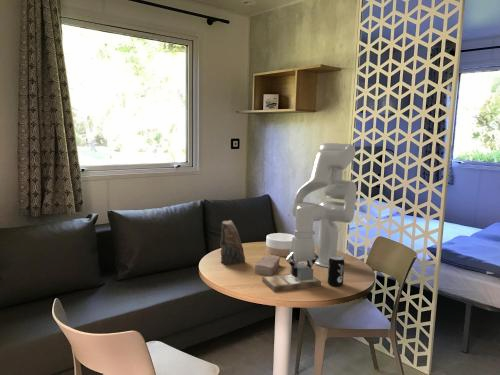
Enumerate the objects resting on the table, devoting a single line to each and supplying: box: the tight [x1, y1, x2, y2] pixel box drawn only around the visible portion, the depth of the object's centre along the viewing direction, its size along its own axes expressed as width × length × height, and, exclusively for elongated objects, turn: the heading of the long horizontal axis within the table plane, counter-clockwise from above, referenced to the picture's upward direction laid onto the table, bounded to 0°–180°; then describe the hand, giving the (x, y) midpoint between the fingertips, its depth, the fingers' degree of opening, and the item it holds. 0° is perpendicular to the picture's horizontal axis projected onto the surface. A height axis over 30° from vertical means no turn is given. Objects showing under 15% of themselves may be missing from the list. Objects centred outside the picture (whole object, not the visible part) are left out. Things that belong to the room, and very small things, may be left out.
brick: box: [254, 254, 281, 276], centre depth 186 cm, size 17×8×5 cm, turn 162°
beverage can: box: [327, 255, 345, 288], centre depth 168 cm, size 7×7×12 cm
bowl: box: [265, 232, 295, 257], centre depth 215 cm, size 17×17×8 cm
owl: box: [219, 219, 246, 266], centre depth 195 cm, size 13×13×20 cm
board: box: [261, 273, 322, 293], centre depth 168 cm, size 22×12×2 cm, turn 111°
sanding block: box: [289, 262, 314, 282], centre depth 169 cm, size 6×9×5 cm, turn 21°
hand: (301, 274), depth 169 cm, fingers closed on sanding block, 6 cm apart
